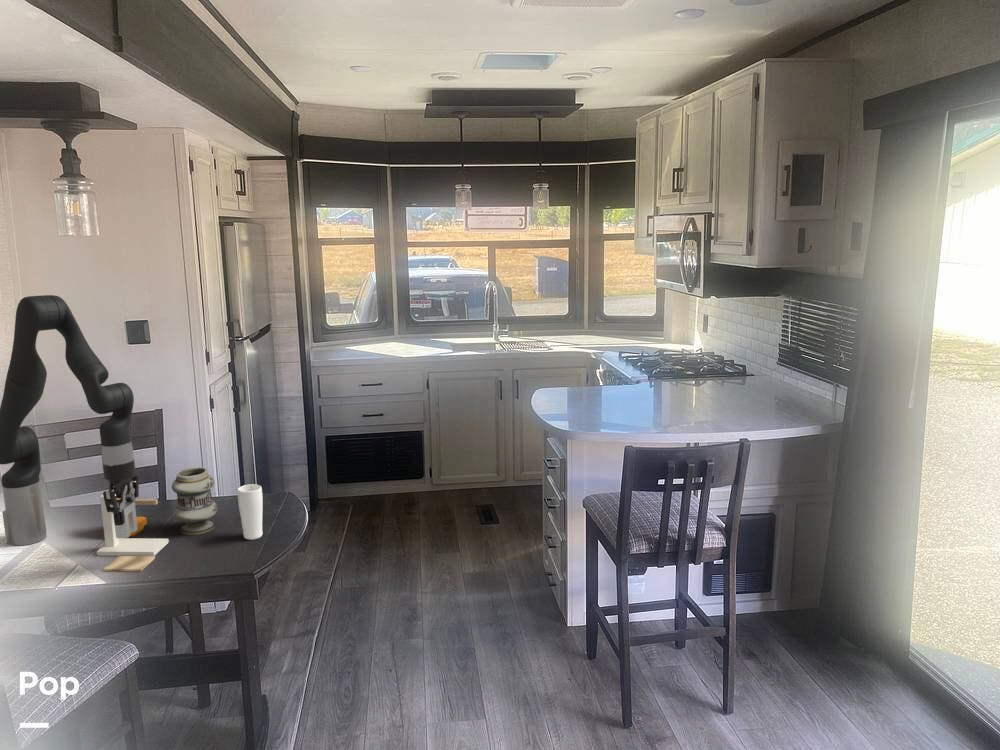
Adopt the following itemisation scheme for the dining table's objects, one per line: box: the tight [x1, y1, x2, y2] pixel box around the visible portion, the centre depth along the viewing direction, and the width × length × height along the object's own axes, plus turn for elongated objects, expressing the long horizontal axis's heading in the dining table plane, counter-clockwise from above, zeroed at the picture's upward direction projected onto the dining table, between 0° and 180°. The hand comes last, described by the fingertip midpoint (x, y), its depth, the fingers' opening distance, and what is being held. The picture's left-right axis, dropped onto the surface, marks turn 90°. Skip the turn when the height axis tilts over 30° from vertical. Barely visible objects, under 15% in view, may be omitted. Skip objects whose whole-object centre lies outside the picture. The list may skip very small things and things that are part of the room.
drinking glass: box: [237, 483, 264, 541], centre depth 224 cm, size 7×7×15 cm
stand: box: [96, 494, 170, 557], centre depth 216 cm, size 16×9×16 cm, turn 88°
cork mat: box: [103, 555, 156, 572], centre depth 208 cm, size 10×8×1 cm
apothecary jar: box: [171, 466, 218, 536], centre depth 230 cm, size 12×12×18 cm
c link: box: [115, 502, 138, 538], centre depth 205 cm, size 3×6×8 cm, turn 178°
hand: (125, 520), depth 205 cm, fingers closed on c link, 5 cm apart
